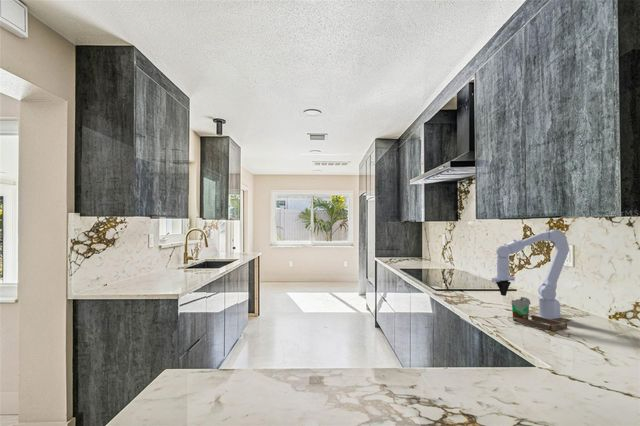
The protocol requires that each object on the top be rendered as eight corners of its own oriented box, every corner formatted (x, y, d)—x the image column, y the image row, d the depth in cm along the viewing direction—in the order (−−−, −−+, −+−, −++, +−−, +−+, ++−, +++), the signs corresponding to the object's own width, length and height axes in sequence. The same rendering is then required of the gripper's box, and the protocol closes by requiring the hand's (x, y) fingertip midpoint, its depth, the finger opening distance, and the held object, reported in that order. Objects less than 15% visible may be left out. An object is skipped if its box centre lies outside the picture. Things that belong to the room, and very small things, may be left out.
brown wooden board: (532, 319, 186) (532, 315, 186) (567, 327, 170) (567, 323, 170) (516, 321, 182) (516, 317, 182) (550, 330, 166) (550, 326, 166)
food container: (525, 323, 178) (525, 302, 178) (511, 321, 183) (511, 300, 183) (535, 319, 186) (534, 298, 186) (521, 316, 191) (521, 296, 191)
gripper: (506, 267, 204) (507, 292, 204) (486, 269, 198) (487, 295, 198) (518, 269, 198) (518, 295, 197) (497, 270, 192) (498, 297, 192)
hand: (503, 295), depth 197 cm, fingers closed
